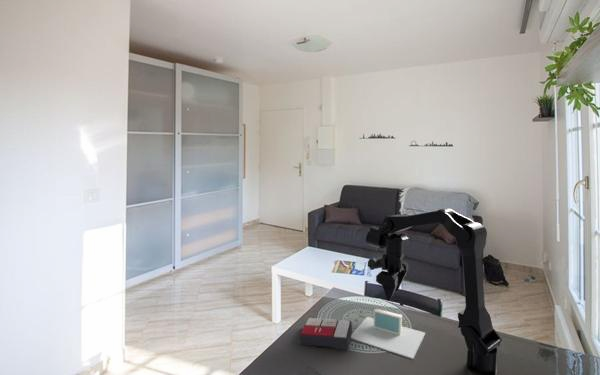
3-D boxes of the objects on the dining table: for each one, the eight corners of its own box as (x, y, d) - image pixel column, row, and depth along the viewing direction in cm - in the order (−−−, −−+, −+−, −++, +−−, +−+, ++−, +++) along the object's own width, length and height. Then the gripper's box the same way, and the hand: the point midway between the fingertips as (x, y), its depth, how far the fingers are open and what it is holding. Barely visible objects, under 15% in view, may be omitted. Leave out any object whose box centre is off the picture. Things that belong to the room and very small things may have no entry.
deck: (401, 332, 105) (402, 315, 105) (400, 335, 104) (400, 317, 103) (375, 325, 110) (375, 308, 110) (373, 327, 109) (373, 310, 108)
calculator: (307, 316, 110) (351, 318, 106) (308, 328, 110) (352, 331, 106) (298, 333, 99) (347, 336, 95) (300, 346, 99) (348, 350, 95)
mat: (425, 333, 105) (425, 332, 105) (413, 359, 92) (413, 358, 92) (367, 317, 116) (367, 316, 116) (349, 338, 103) (349, 337, 103)
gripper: (379, 242, 122) (378, 281, 123) (361, 254, 106) (360, 300, 107) (409, 246, 116) (408, 288, 117) (395, 260, 100) (393, 308, 101)
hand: (392, 295), depth 111 cm, fingers open, 9 cm apart
